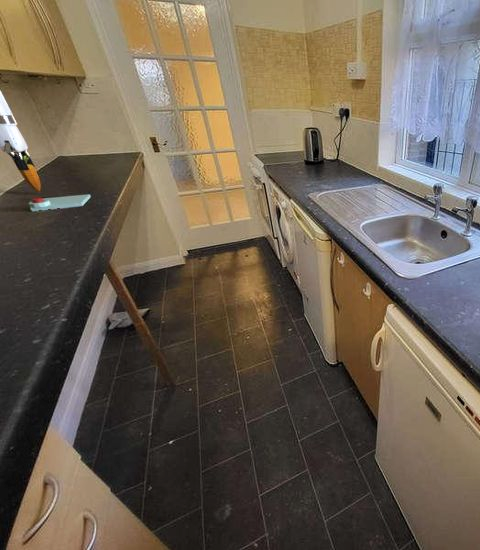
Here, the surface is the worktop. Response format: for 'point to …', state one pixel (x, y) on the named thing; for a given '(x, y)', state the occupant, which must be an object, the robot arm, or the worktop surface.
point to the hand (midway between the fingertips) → (26, 168)
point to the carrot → (31, 176)
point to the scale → (59, 202)
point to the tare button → (37, 200)
